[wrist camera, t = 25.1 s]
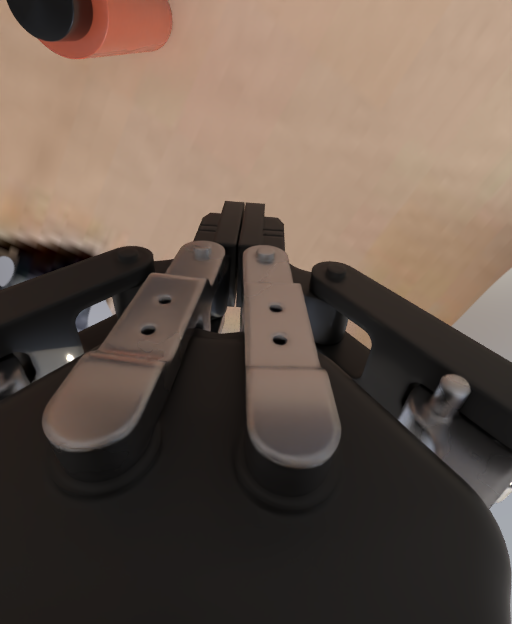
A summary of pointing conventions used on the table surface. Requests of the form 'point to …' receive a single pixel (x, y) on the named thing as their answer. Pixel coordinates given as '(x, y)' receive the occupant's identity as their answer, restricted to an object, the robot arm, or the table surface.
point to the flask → (95, 25)
